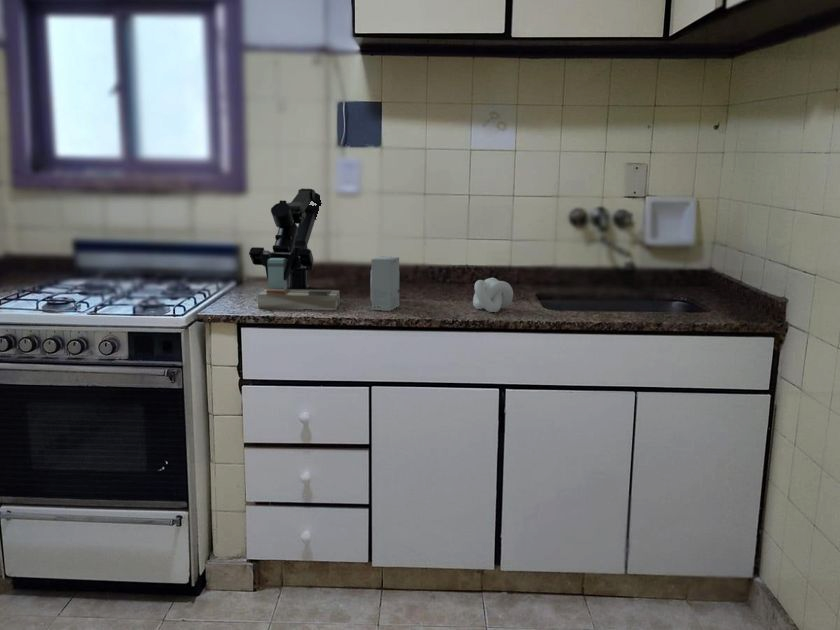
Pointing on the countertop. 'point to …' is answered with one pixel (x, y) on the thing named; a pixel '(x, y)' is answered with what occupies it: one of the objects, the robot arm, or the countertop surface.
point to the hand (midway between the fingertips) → (276, 279)
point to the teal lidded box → (276, 273)
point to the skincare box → (385, 283)
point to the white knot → (492, 294)
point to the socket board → (299, 299)
